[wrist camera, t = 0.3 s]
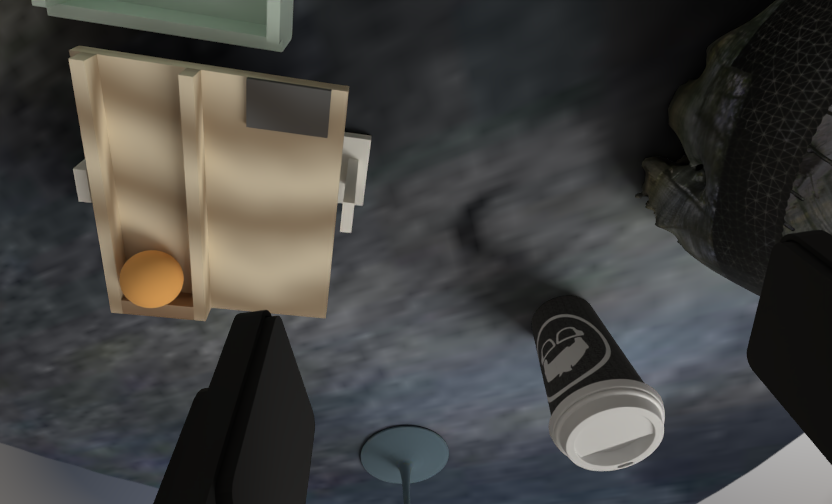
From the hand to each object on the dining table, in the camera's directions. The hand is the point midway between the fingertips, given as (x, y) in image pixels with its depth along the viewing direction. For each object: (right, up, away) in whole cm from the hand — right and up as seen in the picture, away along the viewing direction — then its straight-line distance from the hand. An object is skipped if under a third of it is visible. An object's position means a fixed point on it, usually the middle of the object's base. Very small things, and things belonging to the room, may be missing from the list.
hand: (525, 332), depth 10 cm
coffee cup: (+13, -5, +46) cm, 48 cm away
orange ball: (-20, 0, +27) cm, 34 cm away
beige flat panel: (-16, +5, +27) cm, 32 cm away
